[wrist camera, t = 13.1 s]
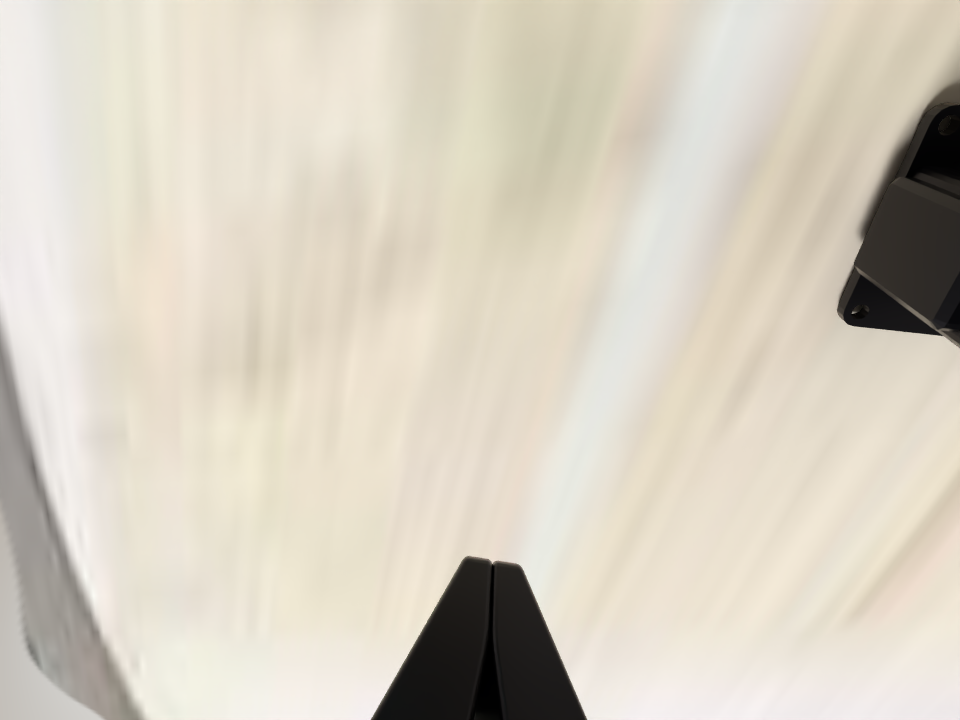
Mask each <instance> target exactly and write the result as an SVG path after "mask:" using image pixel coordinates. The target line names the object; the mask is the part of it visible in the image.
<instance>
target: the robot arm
mask: <svg viewBox="0 0 960 720" xmlns="http://www.w3.org/2000/svg"><path fill="white" fill-rule="evenodd" d="M947 116H950V118H951V119H950V124H949V125H948V127H947V128H946V129H945V130H943V131H942V132H939V130H938V128H939V124H940V123H941V121H942V120H943V119H944V118H946V117H947ZM854 265H855V269H854V271H853V273H852V276H851V278H850V280H849V282H848V284H847V287H846V289H845V291H844V293H843V296H842V298H841V300H840V302H839V304H838V308H837V312H838V315H839V316H840V317H841V318H842V319H843V320H844V321H845V322H846V323H847V324H848V325H852V326H857V327H866V328H875V329H885V330H894V331H903V332H912V333H921V334H930V335H940V336H944V337H946V338H947V339H948V340H950V341H951V342H952V343H954V344H955V345H956V346H958V347H959V348H960V104H955V103H943V104H940V105H937V106H935V107H933V108H932V109H931V110H930V111H929V112H927V113H926V115H925V116H924V118H923V119H922V121H921V123H920V125H919V127H918V129H917V132H916V134H915V136H914V138H913V140H912V143H911V145H910V147H909V149H908V152H907V154H906V156H905V158H904V160H903V163H902V165H901V167H900V169H899V171H898V174H897V176H896V178H895V180H894V181H893V182H892V183H891V184H889V186H888V188H887V190H886V192H885V195H884V197H883V199H882V201H881V203H880V206H879V208H878V210H877V212H876V215H875V217H874V219H873V221H872V224H871V226H870V228H869V230H868V233H867V235H866V237H865V239H864V241H863V244H862V246H861V248H860V250H859V253H858V255H857V257H856V259H855V262H854ZM858 305H862V308H861V310H860V311H858V312H857V313H854V314H852V310H853V309H854V308H855V307H857V306H858ZM371 720H587V718H586V716H585V714H584V711H583V709H582V707H581V704H580V702H579V699H578V697H577V695H576V692H575V690H574V688H573V685H572V683H571V681H570V678H569V676H568V674H567V671H566V669H565V667H564V664H563V662H562V660H561V657H560V655H559V653H558V650H557V648H556V646H555V643H554V641H553V639H552V636H551V634H550V632H549V629H548V627H547V625H546V622H545V620H544V618H543V615H542V613H541V610H540V608H539V606H538V603H537V601H536V599H535V596H534V594H533V592H532V589H531V587H530V585H529V582H528V580H527V578H526V575H525V573H524V571H523V569H522V567H521V566H520V565H518V564H515V563H509V562H503V561H495V562H494V563H493V564H492V562H491V561H490V560H489V559H484V558H478V557H472V556H467V557H465V558H464V559H463V560H462V562H461V564H460V565H459V567H458V569H457V571H456V572H455V574H454V576H453V578H452V579H451V581H450V583H449V585H448V586H447V588H446V590H445V592H444V593H443V595H442V597H441V598H440V600H439V602H438V604H437V605H436V607H435V609H434V611H433V612H432V614H431V616H430V618H429V619H428V621H427V623H426V625H425V626H424V628H423V630H422V632H421V633H420V635H419V637H418V639H417V640H416V642H415V644H414V646H413V647H412V649H411V651H410V652H409V654H408V656H407V658H406V659H405V661H404V663H403V665H402V666H401V668H400V670H399V672H398V673H397V675H396V677H395V679H394V680H393V682H392V684H391V686H390V687H389V689H388V691H387V693H386V694H385V696H384V698H383V699H382V701H381V703H380V705H379V706H378V708H377V710H376V712H375V713H374V715H373V717H372V719H371Z"/></svg>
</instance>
